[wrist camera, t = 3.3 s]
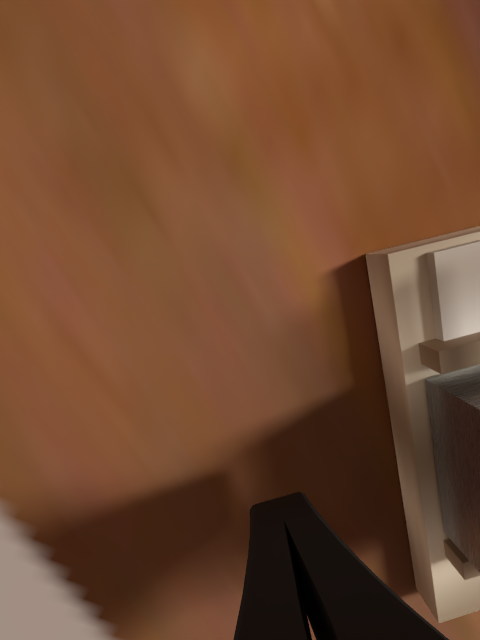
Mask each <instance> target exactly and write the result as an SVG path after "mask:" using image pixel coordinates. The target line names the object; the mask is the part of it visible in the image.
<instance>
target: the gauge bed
mask: <svg viewBox="0 0 480 640" xmlns="http://www.w3.org/2000/svg"><path fill="white" fill-rule="evenodd" d="M365 255H366V261H367V268H368V275H369V281H370V288H371V294H372V301H373V308H374V314H375V321H376V327H377V334H378V340H379V347H380V354H381V360H382V367H383V373H384V380H385V386H386V393H387V400H388V406H389V413H390V419H391V426H392V433H393V439H394V446H395V452H396V459H397V465H398V472H399V479H400V485H401V492H402V498H403V505H404V511H405V518H406V525H407V531H408V538H409V544H410V551H411V558H412V564H413V571H414V577H415V584H416V589H417V590H418V592H419V593H420V595H421V596H422V598H423V599H424V601H425V603H426V604H427V606H428V607H429V609H430V610H431V612H432V613H433V615H434V617H435V618H436V620H437V621H438V623H441V622H444V621H448V620H451V619H454V618H457V617H460V616H463V615H466V614H469V613H472V612H476V611H479V610H480V572H479V571H478V570H477V569H476V568H475V567H474V566H473V564H472V563H471V562H470V561H469V560H468V559H467V558H466V556H465V555H464V554H463V553H462V552H461V551H460V550H459V548H458V547H457V546H456V545H455V544H454V543H453V542H452V540H451V539H450V538H449V537H448V536H447V535H446V534H445V532H444V526H443V518H442V510H441V502H440V494H439V486H438V478H437V470H436V462H435V454H434V446H433V438H432V430H431V422H430V414H429V406H428V398H427V390H426V382H425V379H427V378H431V377H435V376H438V375H442V374H446V373H449V372H453V371H457V370H460V369H464V368H468V367H471V366H475V365H478V364H480V226H477V227H473V228H469V229H465V230H461V231H457V232H453V233H449V234H445V235H441V236H437V237H433V238H429V239H425V240H421V241H417V242H413V243H408V244H404V245H400V246H396V247H392V248H388V249H384V250H380V251H376V252H372V253H368V254H365Z"/></svg>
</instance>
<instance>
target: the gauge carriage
mask: <svg viewBox="0 0 480 640" xmlns="http://www.w3.org/2000/svg"><path fill="white" fill-rule="evenodd" d="M425 382H426V390H427V398H428V406H429V414H430V422H431V430H432V438H433V446H434V454H435V462H436V470H437V478H438V486H439V494H440V502H441V510H442V518H443V526H444V532H445V534H446V535H447V536H448V537H449V538H450V539H451V540H452V542H453V543H454V544H455V545H456V546H457V547H458V548H459V550H460V551H461V552H462V553H463V554H464V555H465V556H466V558H467V559H468V560H469V561H470V562H471V563H472V564H473V566H474V567H475V568H476V569H477V570H478V571H479V572H480V364H478V365H475V366H471V367H468V368H464V369H460V370H457V371H453V372H449V373H446V374H442V375H438V376H435V377H431V378H427V379H425Z"/></svg>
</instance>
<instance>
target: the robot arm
mask: <svg viewBox="0 0 480 640" xmlns="http://www.w3.org/2000/svg"><path fill="white" fill-rule="evenodd" d="M306 613H307V614H306ZM307 616H308V618H307ZM308 619H309V621H310V624H311V627H312V629H313V632H314V635H315V637H316V640H449V639H448V638H446V637H445V636H444V635H443V634H442V633H440V632H439V631H438V630H437V629H436V628H434V627H433V626H432V625H431V624H430V623H428V622H427V621H426V620H425V619H424V618H422V617H421V616H420V615H419V614H418V613H417V612H416V611H414V610H413V609H412V608H411V607H410V606H409V605H408V604H406V603H405V602H404V601H403V600H402V599H401V598H400V597H399V596H398V595H396V594H395V593H394V592H393V591H392V590H391V589H390V588H389V587H388V586H387V585H386V584H385V583H384V582H383V581H382V580H380V579H379V578H378V577H377V576H376V575H375V574H374V573H373V572H372V571H371V570H370V569H369V568H368V567H367V566H366V565H365V564H364V563H363V562H362V561H361V560H360V559H359V558H358V557H357V556H356V555H355V554H354V553H353V552H352V550H351V549H350V548H349V547H348V546H347V545H346V544H345V543H344V542H343V541H342V540H341V539H340V538H339V537H338V536H337V534H336V533H335V532H334V531H333V530H332V529H331V528H330V526H329V525H328V524H327V523H326V522H325V521H324V519H323V518H322V517H321V516H320V515H319V513H318V512H317V511H316V509H315V508H314V507H313V506H312V504H311V503H310V501H309V500H308V499H307V497H306V496H305V494H303V493H301V492H297V493H293V494H290V495H286V496H283V497H279V498H276V499H272V500H269V501H266V502H262V503H259V504H255V505H253V506H252V508H251V509H250V541H249V551H248V560H247V567H246V574H245V582H244V589H243V594H242V600H241V605H240V610H239V615H238V620H237V625H236V630H235V635H234V640H312V638H311V633H310V628H309V623H308Z"/></svg>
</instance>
